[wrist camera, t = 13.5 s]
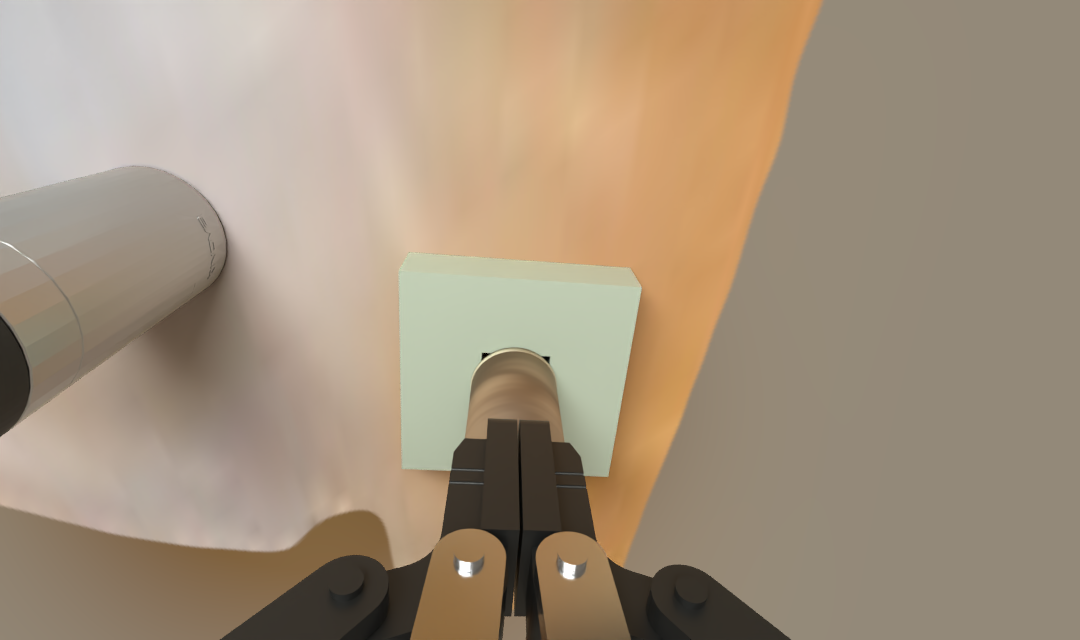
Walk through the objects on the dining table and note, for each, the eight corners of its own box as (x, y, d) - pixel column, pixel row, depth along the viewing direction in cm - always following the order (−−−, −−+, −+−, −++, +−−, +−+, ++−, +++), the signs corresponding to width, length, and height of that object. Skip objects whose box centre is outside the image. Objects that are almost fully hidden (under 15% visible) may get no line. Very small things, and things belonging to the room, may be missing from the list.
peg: (472, 392, 44) (460, 494, 33) (475, 322, 41) (463, 409, 31) (548, 396, 44) (560, 498, 34) (556, 327, 42) (572, 414, 31)
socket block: (410, 437, 46) (401, 468, 42) (408, 252, 39) (398, 270, 35) (600, 445, 47) (608, 476, 43) (630, 267, 40) (641, 287, 37)
